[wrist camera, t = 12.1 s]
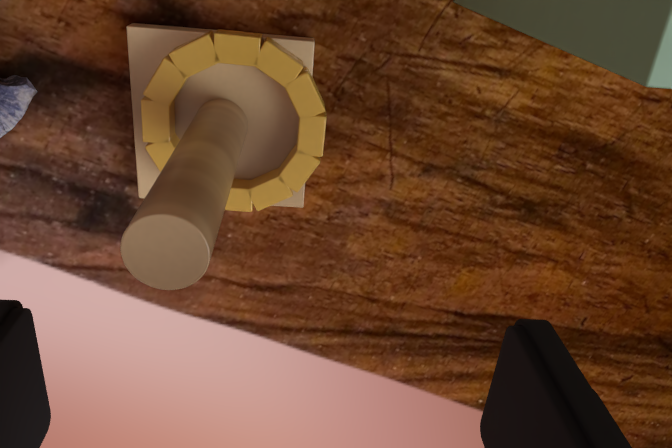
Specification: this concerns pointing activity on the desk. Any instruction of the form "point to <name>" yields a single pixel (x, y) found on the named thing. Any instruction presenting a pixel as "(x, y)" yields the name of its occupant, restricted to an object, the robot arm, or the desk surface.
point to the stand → (596, 32)
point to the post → (202, 153)
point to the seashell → (14, 101)
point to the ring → (276, 66)
